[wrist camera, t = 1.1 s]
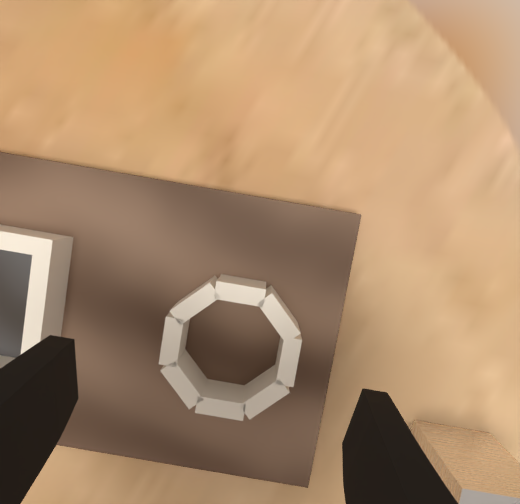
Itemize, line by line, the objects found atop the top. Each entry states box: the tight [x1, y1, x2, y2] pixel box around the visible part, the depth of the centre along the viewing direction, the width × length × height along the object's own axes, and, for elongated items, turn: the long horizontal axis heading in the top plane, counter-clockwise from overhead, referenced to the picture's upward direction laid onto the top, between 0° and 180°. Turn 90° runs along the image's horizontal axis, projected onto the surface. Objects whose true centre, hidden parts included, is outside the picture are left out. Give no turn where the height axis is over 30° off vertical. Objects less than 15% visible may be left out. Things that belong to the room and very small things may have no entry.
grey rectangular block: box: [411, 420, 520, 504], centre depth 20 cm, size 4×4×6 cm
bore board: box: [0, 152, 361, 488], centre depth 20 cm, size 14×22×3 cm, turn 80°
